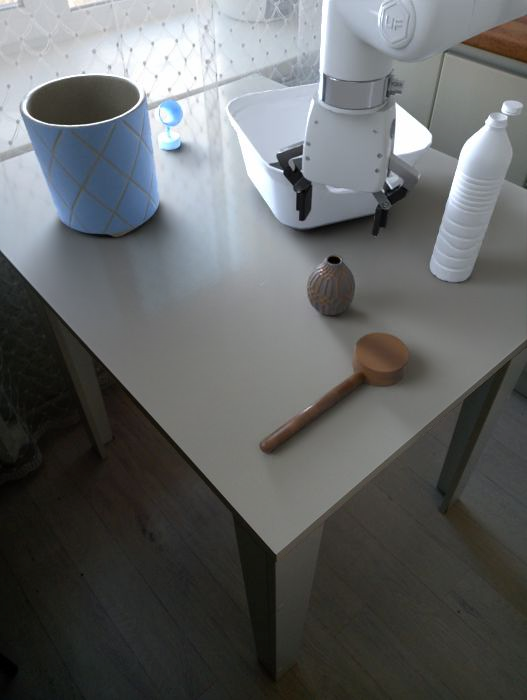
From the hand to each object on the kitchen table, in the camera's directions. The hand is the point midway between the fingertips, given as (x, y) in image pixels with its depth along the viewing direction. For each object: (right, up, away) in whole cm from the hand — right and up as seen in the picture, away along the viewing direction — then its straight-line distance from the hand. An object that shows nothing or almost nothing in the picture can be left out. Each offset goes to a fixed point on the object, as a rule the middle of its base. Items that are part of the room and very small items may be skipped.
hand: (340, 222), depth 71 cm
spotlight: (-29, +26, +44) cm, 59 cm away
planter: (-38, +9, +29) cm, 48 cm away
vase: (0, -10, +11) cm, 15 cm away
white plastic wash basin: (0, +11, +31) cm, 33 cm away
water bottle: (+20, -3, +17) cm, 27 cm away
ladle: (-1, -22, 0) cm, 22 cm away
